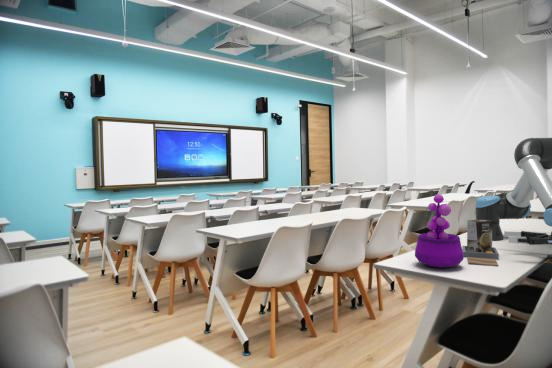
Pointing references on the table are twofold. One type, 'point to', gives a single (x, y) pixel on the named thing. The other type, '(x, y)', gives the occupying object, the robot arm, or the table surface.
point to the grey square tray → (481, 254)
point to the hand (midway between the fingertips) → (506, 236)
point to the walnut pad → (482, 261)
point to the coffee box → (479, 236)
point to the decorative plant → (439, 240)
